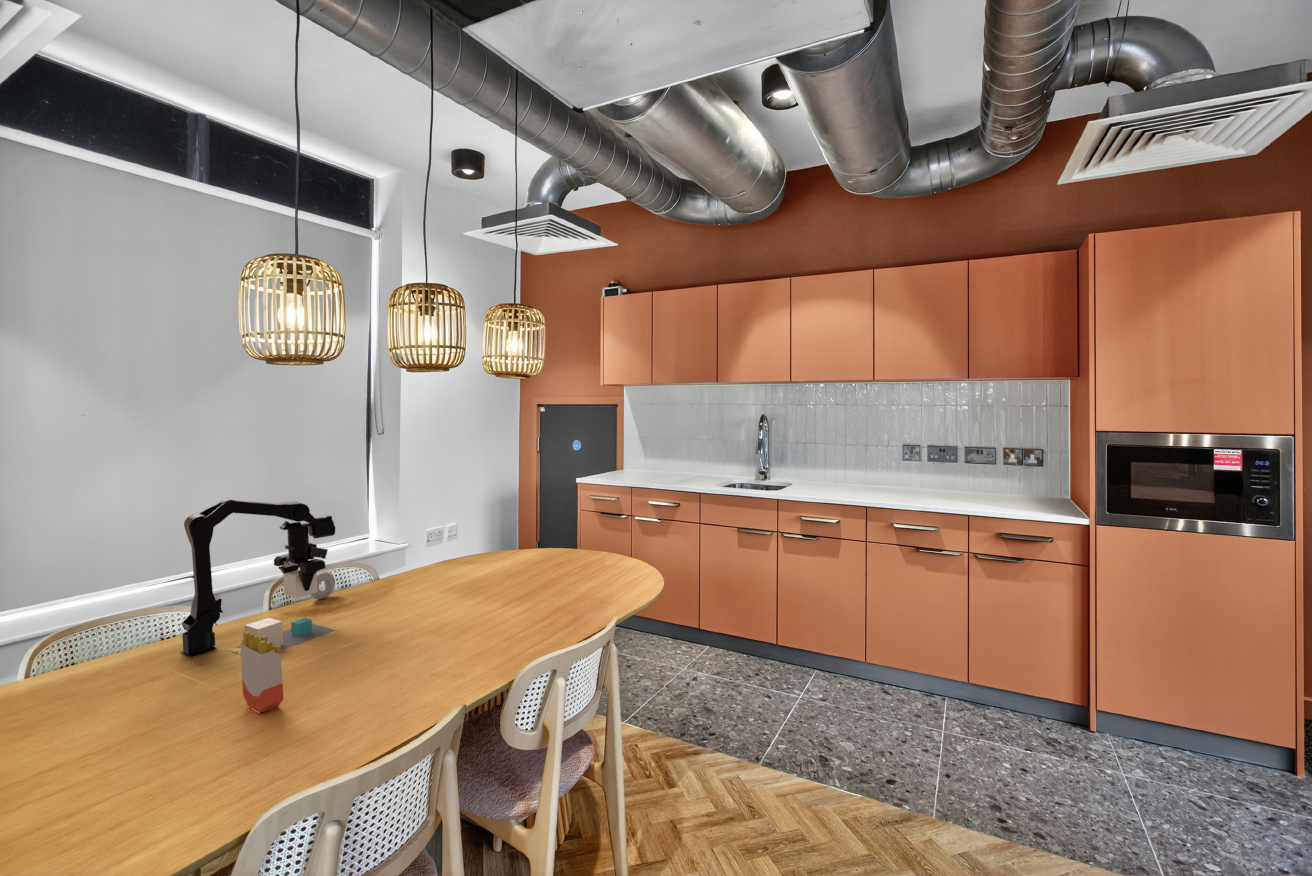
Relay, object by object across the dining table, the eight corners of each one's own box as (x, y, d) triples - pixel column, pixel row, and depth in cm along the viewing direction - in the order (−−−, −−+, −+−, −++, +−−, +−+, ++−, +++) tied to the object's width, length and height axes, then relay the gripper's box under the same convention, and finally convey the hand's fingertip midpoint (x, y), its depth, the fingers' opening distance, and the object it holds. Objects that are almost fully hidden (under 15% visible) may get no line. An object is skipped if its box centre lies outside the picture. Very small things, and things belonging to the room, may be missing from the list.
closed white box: (296, 598, 185) (295, 576, 185) (284, 594, 188) (283, 573, 188) (317, 592, 191) (316, 570, 190) (305, 588, 194) (304, 568, 194)
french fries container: (264, 695, 144) (260, 624, 143) (285, 708, 138) (282, 634, 137) (243, 703, 141) (239, 630, 139) (264, 717, 135) (260, 640, 133)
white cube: (259, 652, 168) (258, 629, 168) (246, 648, 171) (244, 625, 171) (283, 644, 174) (282, 621, 174) (270, 640, 177) (269, 617, 177)
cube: (299, 636, 180) (298, 623, 180) (291, 634, 182) (291, 621, 182) (312, 632, 183) (311, 619, 183) (304, 629, 185) (303, 617, 185)
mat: (255, 660, 164) (254, 659, 164) (227, 651, 170) (227, 650, 170) (336, 630, 185) (336, 629, 185) (308, 623, 192) (308, 622, 192)
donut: (313, 603, 210) (312, 576, 210) (306, 602, 211) (305, 575, 211) (337, 595, 219) (336, 568, 219) (331, 594, 221) (330, 567, 220)
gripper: (340, 539, 191) (342, 586, 192) (306, 533, 200) (308, 578, 201) (305, 546, 181) (308, 596, 182) (271, 540, 190) (274, 587, 191)
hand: (300, 588), depth 189 cm, fingers closed on closed white box, 7 cm apart
